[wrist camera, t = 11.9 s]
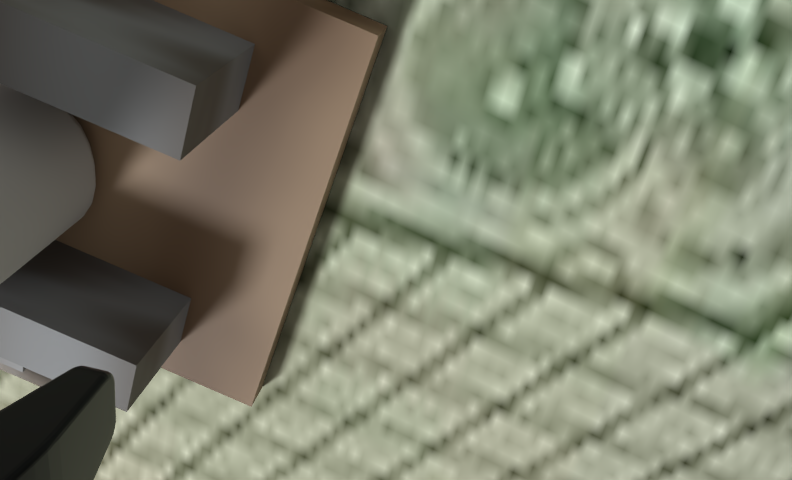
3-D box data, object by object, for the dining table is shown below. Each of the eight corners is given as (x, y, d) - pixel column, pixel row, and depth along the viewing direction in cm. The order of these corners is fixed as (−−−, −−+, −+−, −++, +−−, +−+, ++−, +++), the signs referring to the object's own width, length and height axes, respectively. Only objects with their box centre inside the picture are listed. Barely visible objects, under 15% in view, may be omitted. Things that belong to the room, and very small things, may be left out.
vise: (387, 25, 20) (339, 78, 16) (254, 410, 28) (200, 505, 24) (-238, -240, 20) (-433, -252, 16) (-191, 217, 28) (-313, 282, 24)
